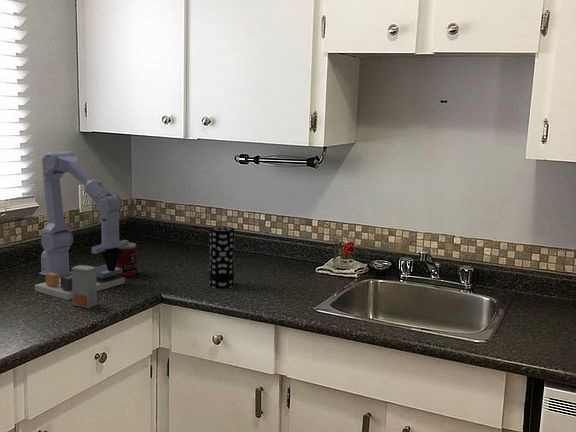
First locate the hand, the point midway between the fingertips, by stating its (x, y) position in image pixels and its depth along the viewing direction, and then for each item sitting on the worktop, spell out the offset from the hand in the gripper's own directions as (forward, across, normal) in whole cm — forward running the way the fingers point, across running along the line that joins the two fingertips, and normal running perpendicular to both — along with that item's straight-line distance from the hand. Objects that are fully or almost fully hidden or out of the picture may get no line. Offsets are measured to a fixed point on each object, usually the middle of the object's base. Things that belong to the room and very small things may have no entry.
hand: (111, 270), depth 210 cm
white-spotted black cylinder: (+6, +22, -30) cm, 38 cm away
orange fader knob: (+3, -16, +9) cm, 19 cm away
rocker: (+1, 0, +3) cm, 3 cm away
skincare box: (+6, -20, -10) cm, 22 cm away
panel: (+5, -8, +6) cm, 11 cm away
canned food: (+5, +12, +6) cm, 15 cm away
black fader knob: (+3, -16, +2) cm, 17 cm away
